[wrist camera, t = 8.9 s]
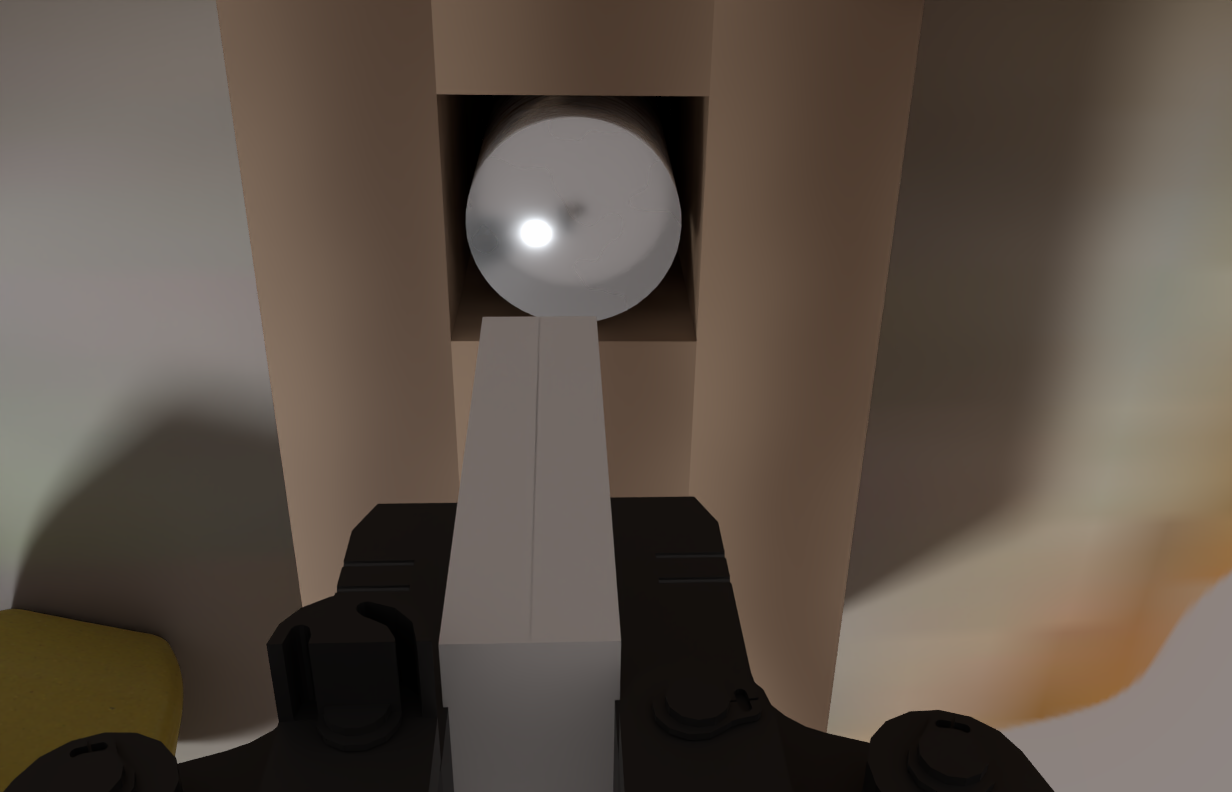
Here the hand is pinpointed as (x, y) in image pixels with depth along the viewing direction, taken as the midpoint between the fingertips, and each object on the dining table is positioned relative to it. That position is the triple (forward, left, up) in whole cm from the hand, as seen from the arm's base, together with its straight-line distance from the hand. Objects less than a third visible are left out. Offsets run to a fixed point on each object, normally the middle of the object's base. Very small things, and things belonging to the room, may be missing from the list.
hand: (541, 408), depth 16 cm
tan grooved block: (0, -6, -16) cm, 17 cm away
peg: (0, 0, -16) cm, 16 cm away
